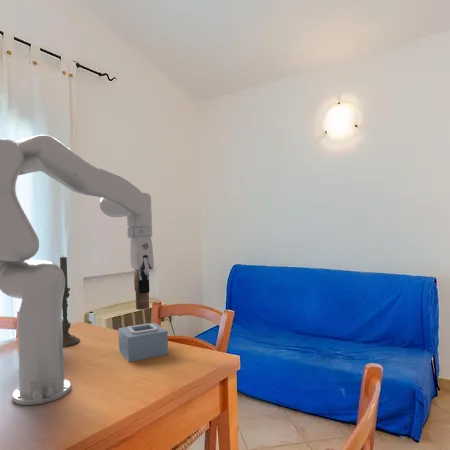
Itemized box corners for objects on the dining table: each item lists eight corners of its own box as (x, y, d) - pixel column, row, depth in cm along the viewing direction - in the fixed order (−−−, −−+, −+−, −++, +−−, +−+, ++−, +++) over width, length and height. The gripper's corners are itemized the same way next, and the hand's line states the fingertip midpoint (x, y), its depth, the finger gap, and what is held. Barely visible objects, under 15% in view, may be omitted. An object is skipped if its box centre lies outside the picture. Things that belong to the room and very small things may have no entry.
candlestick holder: (52, 340, 133) (50, 254, 133) (80, 337, 136) (78, 253, 136) (49, 348, 125) (46, 256, 125) (79, 345, 127) (76, 255, 127)
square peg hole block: (168, 354, 116) (167, 329, 116) (128, 361, 111) (127, 335, 111) (155, 343, 127) (155, 320, 127) (119, 350, 121) (118, 326, 121)
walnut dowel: (150, 308, 118) (149, 263, 118) (138, 310, 116) (136, 264, 116) (147, 306, 122) (145, 262, 121) (134, 307, 120) (133, 263, 120)
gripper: (160, 232, 113) (162, 294, 113) (144, 232, 128) (146, 286, 128) (135, 233, 109) (137, 297, 110) (121, 233, 124) (123, 289, 124)
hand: (141, 291), depth 119 cm, fingers closed on walnut dowel, 4 cm apart
